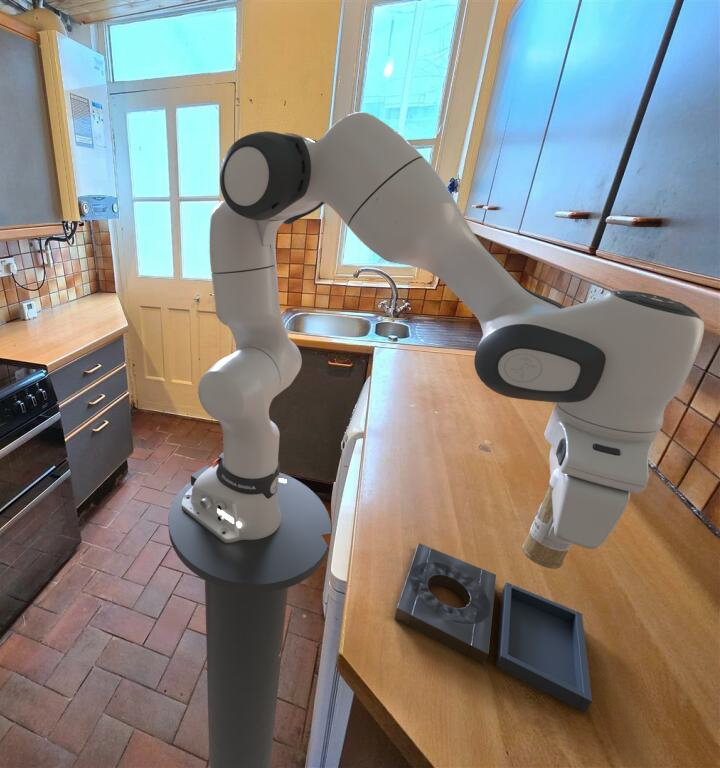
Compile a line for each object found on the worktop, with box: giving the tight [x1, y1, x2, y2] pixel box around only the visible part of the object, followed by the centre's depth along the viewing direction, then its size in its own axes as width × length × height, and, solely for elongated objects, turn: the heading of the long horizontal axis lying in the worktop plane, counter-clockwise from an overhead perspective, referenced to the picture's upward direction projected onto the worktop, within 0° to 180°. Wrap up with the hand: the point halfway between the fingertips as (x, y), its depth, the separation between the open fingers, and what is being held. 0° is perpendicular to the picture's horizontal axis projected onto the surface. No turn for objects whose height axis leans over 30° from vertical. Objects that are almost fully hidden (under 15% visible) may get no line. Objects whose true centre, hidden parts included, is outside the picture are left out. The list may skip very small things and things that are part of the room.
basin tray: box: [495, 581, 593, 713], centre depth 59 cm, size 10×15×2 cm, turn 144°
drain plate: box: [394, 542, 497, 666], centre depth 66 cm, size 12×16×2 cm
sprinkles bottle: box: [521, 468, 574, 570], centre depth 52 cm, size 5×5×13 cm
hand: (555, 525), depth 53 cm, fingers closed on sprinkles bottle, 4 cm apart
